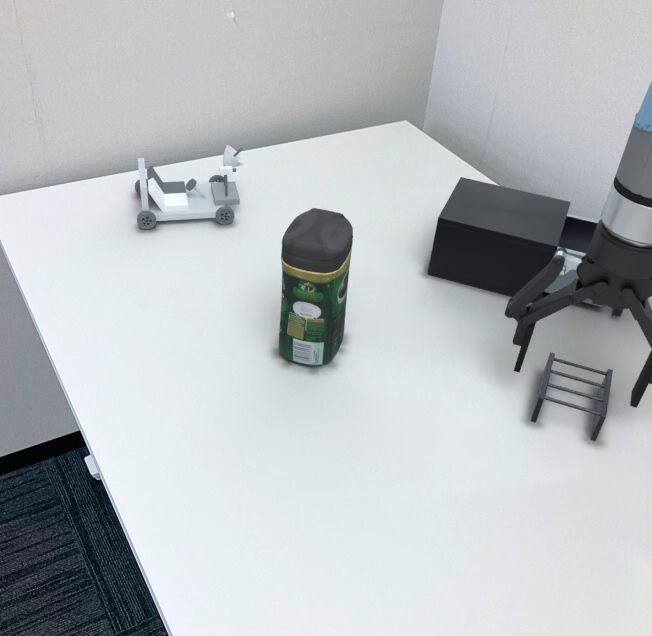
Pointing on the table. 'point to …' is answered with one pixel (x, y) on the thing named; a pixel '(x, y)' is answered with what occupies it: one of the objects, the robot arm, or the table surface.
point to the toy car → (188, 195)
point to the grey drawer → (576, 249)
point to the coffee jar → (314, 286)
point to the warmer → (496, 236)
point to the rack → (601, 398)
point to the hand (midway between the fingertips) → (575, 382)
